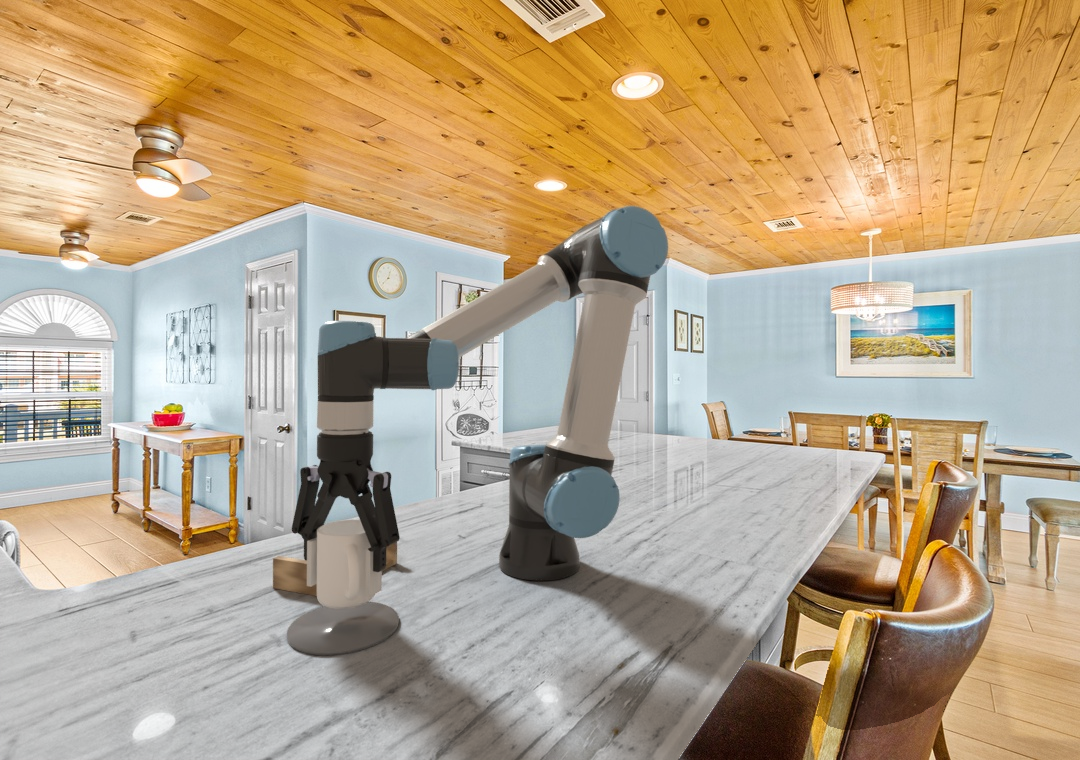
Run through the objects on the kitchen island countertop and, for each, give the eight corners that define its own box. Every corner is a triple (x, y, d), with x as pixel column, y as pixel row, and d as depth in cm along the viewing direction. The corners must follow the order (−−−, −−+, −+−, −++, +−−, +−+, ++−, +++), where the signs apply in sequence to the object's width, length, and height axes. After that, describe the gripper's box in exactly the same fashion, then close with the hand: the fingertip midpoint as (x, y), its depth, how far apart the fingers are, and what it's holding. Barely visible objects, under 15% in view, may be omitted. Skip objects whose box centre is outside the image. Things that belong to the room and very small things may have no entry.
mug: (385, 614, 74) (386, 539, 74) (319, 626, 71) (320, 546, 71) (372, 583, 85) (373, 516, 85) (315, 591, 82) (315, 522, 82)
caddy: (397, 563, 104) (397, 536, 104) (334, 599, 88) (335, 568, 88) (342, 554, 109) (342, 529, 108) (272, 588, 92) (273, 558, 92)
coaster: (418, 614, 83) (418, 610, 83) (354, 664, 69) (354, 659, 69) (336, 599, 88) (336, 595, 88) (261, 643, 74) (261, 638, 74)
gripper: (427, 432, 78) (425, 589, 78) (302, 424, 85) (301, 568, 86) (397, 438, 71) (394, 611, 71) (263, 429, 78) (262, 586, 78)
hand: (343, 587), depth 78 cm, fingers closed on mug, 9 cm apart
